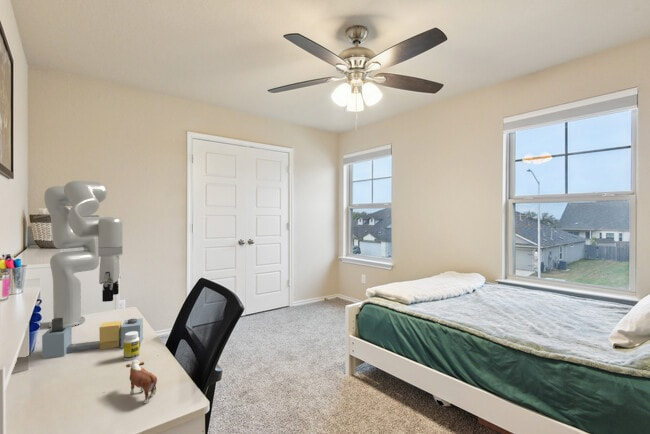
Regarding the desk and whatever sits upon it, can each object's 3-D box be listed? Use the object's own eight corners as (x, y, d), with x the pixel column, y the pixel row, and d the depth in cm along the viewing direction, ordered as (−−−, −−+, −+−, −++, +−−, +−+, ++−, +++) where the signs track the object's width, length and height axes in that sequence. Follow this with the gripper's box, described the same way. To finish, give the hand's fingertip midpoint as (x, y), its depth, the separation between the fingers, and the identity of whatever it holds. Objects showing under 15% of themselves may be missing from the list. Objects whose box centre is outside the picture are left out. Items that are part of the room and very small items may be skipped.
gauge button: (53, 329, 118) (53, 318, 117) (64, 328, 119) (64, 317, 119) (50, 332, 115) (50, 320, 115) (61, 331, 116) (61, 319, 116)
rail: (69, 349, 119) (69, 344, 119) (124, 343, 126) (124, 337, 126) (66, 353, 117) (66, 347, 117) (122, 346, 123) (122, 340, 123)
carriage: (102, 344, 124) (102, 322, 124) (121, 341, 126) (121, 320, 126) (99, 349, 120) (99, 327, 119) (118, 346, 122) (118, 325, 122)
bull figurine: (139, 383, 98) (139, 356, 97) (160, 400, 89) (160, 370, 89) (123, 389, 94) (122, 361, 94) (143, 408, 86) (143, 377, 85)
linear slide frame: (51, 349, 120) (51, 324, 119) (142, 338, 131) (142, 315, 130) (42, 359, 112) (42, 332, 112) (140, 346, 123) (140, 322, 123)
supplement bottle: (132, 361, 111) (132, 336, 111) (120, 359, 112) (120, 335, 112) (142, 355, 116) (142, 331, 116) (131, 353, 117) (131, 330, 117)
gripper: (103, 249, 129) (104, 293, 129) (92, 255, 113) (92, 305, 113) (126, 248, 132) (126, 291, 132) (117, 254, 116) (118, 303, 116)
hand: (110, 297), depth 123 cm, fingers open, 9 cm apart
